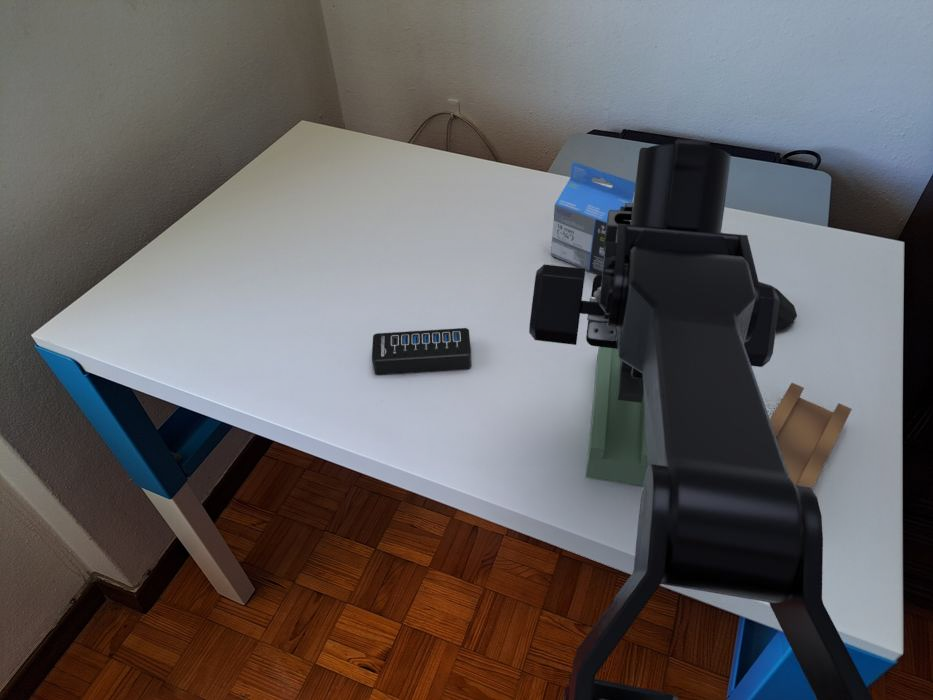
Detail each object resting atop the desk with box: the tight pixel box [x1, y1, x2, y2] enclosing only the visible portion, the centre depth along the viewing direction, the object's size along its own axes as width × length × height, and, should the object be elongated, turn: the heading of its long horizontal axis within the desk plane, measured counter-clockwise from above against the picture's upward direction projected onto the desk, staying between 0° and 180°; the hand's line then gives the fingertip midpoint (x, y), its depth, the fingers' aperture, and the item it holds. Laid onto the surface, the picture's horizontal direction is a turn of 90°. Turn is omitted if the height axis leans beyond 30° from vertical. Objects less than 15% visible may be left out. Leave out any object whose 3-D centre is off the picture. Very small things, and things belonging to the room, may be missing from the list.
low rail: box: [769, 382, 853, 490], centre depth 66 cm, size 16×6×2 cm, turn 142°
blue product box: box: [550, 160, 636, 275], centre depth 85 cm, size 9×4×12 cm, turn 54°
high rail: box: [585, 347, 648, 487], centre depth 70 cm, size 16×6×5 cm, turn 168°
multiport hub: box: [371, 327, 472, 376], centre depth 78 cm, size 4×11×2 cm, turn 93°
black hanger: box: [618, 359, 644, 403], centre depth 62 cm, size 8×2×11 cm, turn 168°
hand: (640, 318), depth 63 cm, fingers closed on black hanger, 2 cm apart
